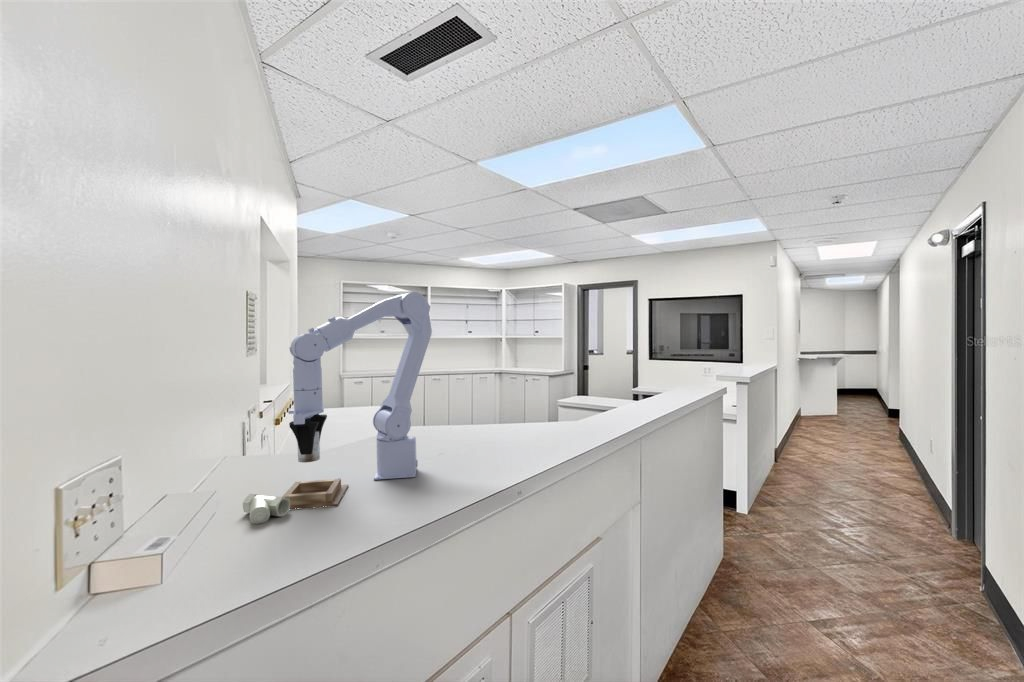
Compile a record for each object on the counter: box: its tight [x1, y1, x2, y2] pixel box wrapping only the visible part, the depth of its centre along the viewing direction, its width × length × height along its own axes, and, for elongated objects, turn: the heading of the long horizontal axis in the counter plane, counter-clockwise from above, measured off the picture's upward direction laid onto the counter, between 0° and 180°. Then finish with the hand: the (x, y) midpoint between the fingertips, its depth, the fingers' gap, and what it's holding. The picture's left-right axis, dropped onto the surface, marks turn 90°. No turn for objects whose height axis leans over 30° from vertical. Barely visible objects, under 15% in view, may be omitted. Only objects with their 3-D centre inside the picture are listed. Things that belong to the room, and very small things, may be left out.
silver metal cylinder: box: [297, 430, 321, 464], centre depth 103 cm, size 4×4×6 cm
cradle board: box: [281, 478, 349, 510], centre depth 98 cm, size 12×12×3 cm
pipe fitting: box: [242, 493, 290, 525], centre depth 88 cm, size 8×4×7 cm
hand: (309, 451), depth 103 cm, fingers closed on silver metal cylinder, 4 cm apart
